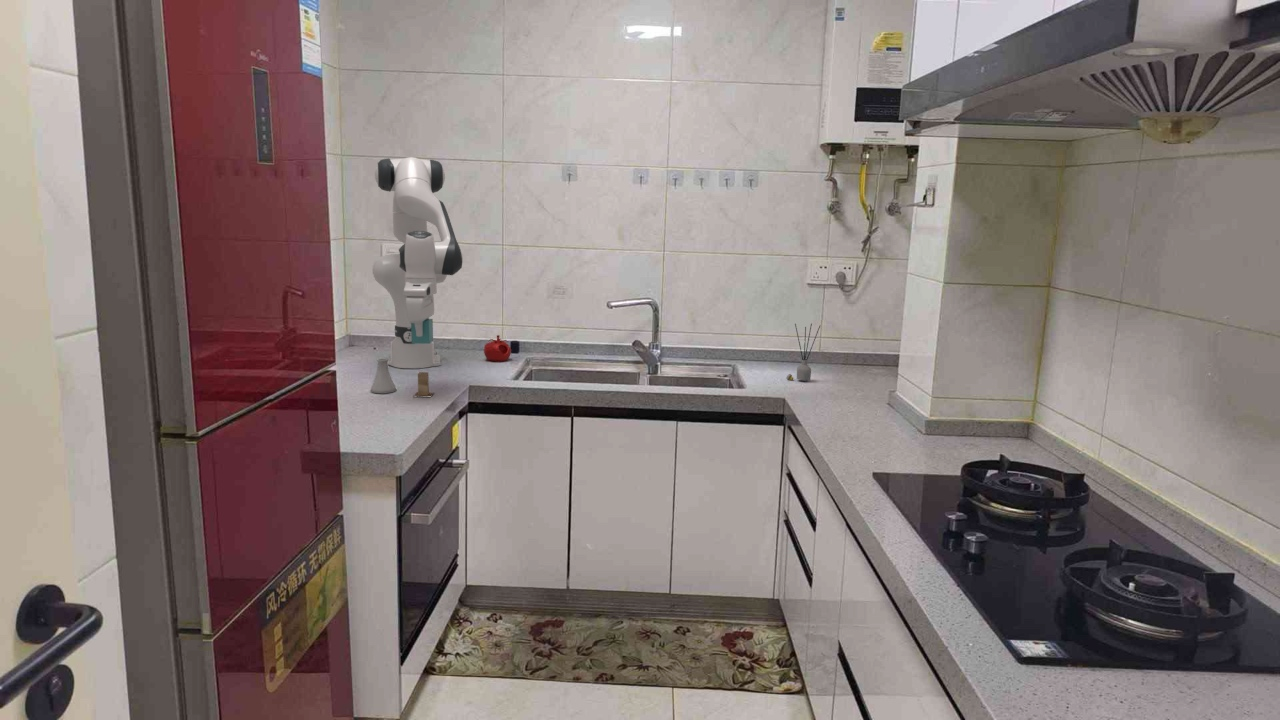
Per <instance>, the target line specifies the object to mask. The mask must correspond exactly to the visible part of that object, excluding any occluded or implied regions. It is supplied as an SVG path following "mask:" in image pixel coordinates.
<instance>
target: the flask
mask: <svg viewBox="0 0 1280 720" xmlns="http://www.w3.org/2000/svg"><path fill="white" fill-rule="evenodd" d="M388 361H389V358H383V357H382V358H377V359H376V362H377V370H376V374H375V376H374V379H373V382H372V385H371V388H370V390H369V391H370V392H371V393H373V394H383V395H384V394H390V393H394V392H396V391H397V388H396V385H395V383H394V381H393V379H392V375H391V373H390V370H389V367H388V366H389V365H388V364H387V362H388Z"/></svg>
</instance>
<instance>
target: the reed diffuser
mask: <svg viewBox="0 0 1280 720" xmlns="http://www.w3.org/2000/svg"><path fill="white" fill-rule="evenodd" d="M812 324H813V323H812V322H811V323H810V327H809V334H808V338H807V337H806V336H807V335H806V334H807V326H805V327H804V340H806V338H807V344H806V343H804V345H803V352H802V347H801V343H800V338H799V333H798V328H797V324H796V323H794V326H795V329H796V330H795V331H796V336H797V340H798V344H799V345H798V346H799V349H800V355H801V364H800V365H799V366H798V367H797V369H796V379H797V380H798V381H810V380H811V375H812V368H811V366H809V365H808V359H809V356H810V354H811V351H812V348H813V347H814V344H815V342H816V338H817V335H818V334H819V333H818V332H819V330H820V328H821V325H819V326H818V329H817V331H816V334H815V337H814V339H813V342H812V345H811V347H810V349H809V353H808V354H807V352H808V348H809V347H808V345H809V341H810V336H811V330H812V326H813V325H812ZM786 380H788V381H789V380H790V381H794V377H793V374H792V373H789V374H787V375H786Z"/></svg>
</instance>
